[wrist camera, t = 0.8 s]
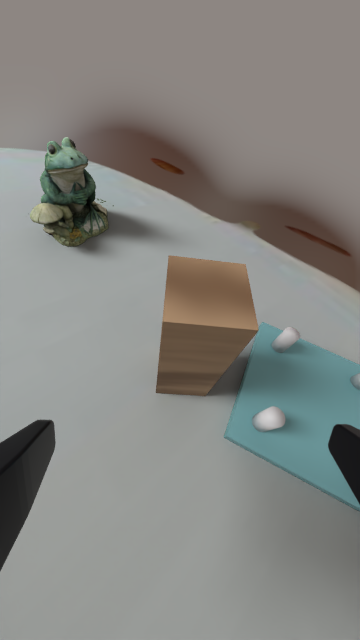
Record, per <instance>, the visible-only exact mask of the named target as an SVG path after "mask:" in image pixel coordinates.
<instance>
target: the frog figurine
mask: <svg viewBox="0 0 360 640" xmlns="http://www.w3.org/2000/svg"><path fill="white" fill-rule="evenodd" d="M47 151H48V152H47V154H46V155H45V171H43V173H42V176H41V177H40V178H41V179H40V181H41V186H42V189H43V191H44V193H45V194H44V195H43V196H42V197H41V204H38V205H37V206H35V207H34V208H33V210H32V211H31V214H30V218H31V220H32V221H33V222H36V223H39V224H44V228H43V230H44V231H45V232H46V233H48V234H52V235H53V236H54V238H55V240H57V241H58V242H59V243H61V244H62V245H65V246H78V245H80V244H82V243H84V242H85V241H86V239H88V238H90V237H93V236H97V235H99V234H101V233H103V232H104V231H105V230H107V229H108V227H109V226H108V221H107V210H106V208H104V207H102V206H101V205H100V204H98V203H96V202H95V201H94V200H95V189H96V185H95V182H94V180H93V178H92V177H91V175H90V174H89V173H88V172H87V171H86V170H85V169H84V168H85V167H86V166H87V165H88V163H87V162H88V159H87V157H86V156H85V155H84V154H82V153H81V152H79V151H77V150H76V149H75V144H74V142H73V141H72V140H70V139H69V138H68V137H66V138H64V139H63V140H62V146H61V147H60V146H59V145H58V144H57V143H56V142H55V141H51V142H49V143H48V144H47ZM98 200H99V199H98ZM100 200H101V199H100ZM102 201H103V200H102ZM104 202H106V201H104ZM100 203H103V202H100ZM113 206H114V205H113Z"/></svg>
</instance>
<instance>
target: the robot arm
mask: <svg viewBox="0 0 360 640" xmlns="http://www.w3.org/2000/svg"><path fill="white" fill-rule="evenodd" d="M54 449H55V431H54V423H53V421H52V420H37V421H35V422H33V423H31V424H30V425H28V426H27V427H25V428H23V429H22V430H20V431H19V432H17V433H15V434H14V435H12V436H11V437H9V438H7V439H6V440H4V441H3V442H1V443H0V571H1V569H2V567H3V565H4V563H5V561H6V559H7V557H8V555H9V553H10V551H11V549H12V547H13V545H14V543H15V541H16V539H17V537H18V535H19V533H20V531H21V529H22V527H23V525H24V523H25V520H26V518H27V516H28V514H29V512H30V510H31V507H32V505H33V502H34V500H35V497H36V495H37V492H38V490H39V487H40V485H41V482H42V480H43V477H44V475H45V472H46V470H47V467H48V465H49V462H50V460H51V457H52V455H53V452H54ZM328 449H329V451H330V453H331V455H332V457H333V459H334V460H335V462H336V464H337V466H338V467H339V469H340V471H341V473H342V474H343V476H344V478H345V480H346V482H347V483H348V485H349V487H350V489H351V490H352V492H353V494H354V496H355V497H356V499H357V501H358V502H359V504H360V430H359V429H357V428H355V427H353V426H351V425H349V424H336V425H335V426H334V427H333V429H332V433H331V436H330V439H329V442H328Z"/></svg>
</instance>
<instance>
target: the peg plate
mask: <svg viewBox="0 0 360 640" xmlns="http://www.w3.org/2000/svg"><path fill="white" fill-rule="evenodd" d="M336 424H349V425H351V426H353V427H355V428H357V429H359V430H360V365H359V364H356V363H354V362H352V361H350V360H347V359H345V358H343V357H341V356H338V355H336V354H334V353H332V352H329V351H327V350H325V349H323V348H320V347H318V346H316V345H314V344H311V343H309V342H307V341H305V340H302V339H300V334H299V332H298V331H297V330H296V329H295V328H292V327H288V328H286V329H285V330H284V331H282V330H280V329H278V328H275V327H273V326H271V325H269V324H266V323H264V322H262V323H261V325H260V326H259V331H258V332H257V335H256V338H255V341H254V344H253V347H252V351H251V354H250V357H249V360H248V363H247V366H246V369H245V373H244V376H243V379H242V382H241V385H240V388H239V391H238V394H237V398H236V401H235V404H234V407H233V410H232V413H231V416H230V419H229V423H228V426H227V429H226V432H225V435H224V438H226V439H228V440H229V441H231V442H233V443H235V444H237V445H239V446H240V447H242V448H244V449H246V450H248V451H250V452H251V453H253V454H255V455H257V456H259V457H261V458H262V459H264V460H266V461H268V462H270V463H272V464H273V465H275V466H277V467H279V468H281V469H283V470H284V471H286V472H288V473H290V474H292V475H294V476H295V477H297V478H299V479H301V480H303V481H305V482H306V483H308V484H310V485H312V486H314V487H316V488H317V489H319V490H321V491H323V492H325V493H327V494H328V495H330V496H332V497H334V498H336V499H338V500H339V501H341V502H343V503H345V504H347V505H349V506H350V507H352V508H354V509H356V510H358V511H360V504H359V502H358V501H357V499H356V497H355V496H354V494H353V492H352V490H351V489H350V487H349V485H348V483H347V482H346V480H345V478H344V476H343V474H342V473H341V471H340V469H339V467H338V466H337V464H336V462H335V460H334V459H333V457H332V455H331V453H330V451H329V449H328V442H329V439H330V436H331V433H332V429H333V427H334V426H335V425H336Z"/></svg>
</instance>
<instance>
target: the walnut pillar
mask: <svg viewBox="0 0 360 640" xmlns="http://www.w3.org/2000/svg"><path fill="white" fill-rule="evenodd" d="M258 331H259V329H258V324H257V319H256V314H255V309H254V304H253V299H252V294H251V289H250V284H249V279H248V274H247V269H246V264H238V263H229V262H221V261H212V260H204V259H195V258H186V257H178V256H169V259H168V269H167V280H166V290H165V301H164V311H163V322H162V332H161V343H160V354H159V365H158V375H157V386H156V393H167V394H182V395H197V396H206V395H207V393H208V392H209V391H210V390H211V388H212V387H213V386H214V385H215V383H216V382H217V381H218V380H219V379H220V377H221V376H222V375H223V374H224V372H225V371H226V370H227V369H228V367H229V366H230V365H231V364H232V363H233V361H234V360H235V359H236V358H237V356H238V355H239V354H240V353H241V352H242V350H243V349H244V348H245V347H246V345H247V344H248V343H249V342H250V340H251V339H252V338H253V337H254V336H255V334H256V333H257V332H258Z"/></svg>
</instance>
